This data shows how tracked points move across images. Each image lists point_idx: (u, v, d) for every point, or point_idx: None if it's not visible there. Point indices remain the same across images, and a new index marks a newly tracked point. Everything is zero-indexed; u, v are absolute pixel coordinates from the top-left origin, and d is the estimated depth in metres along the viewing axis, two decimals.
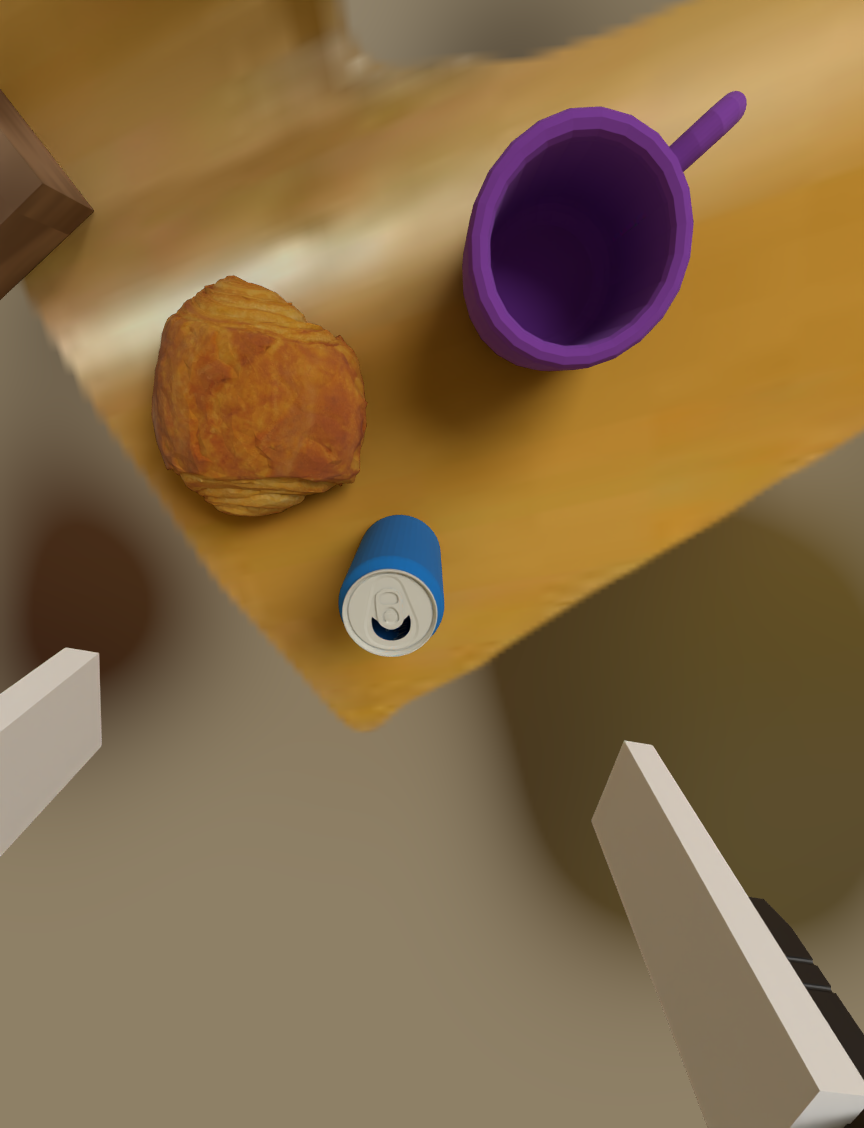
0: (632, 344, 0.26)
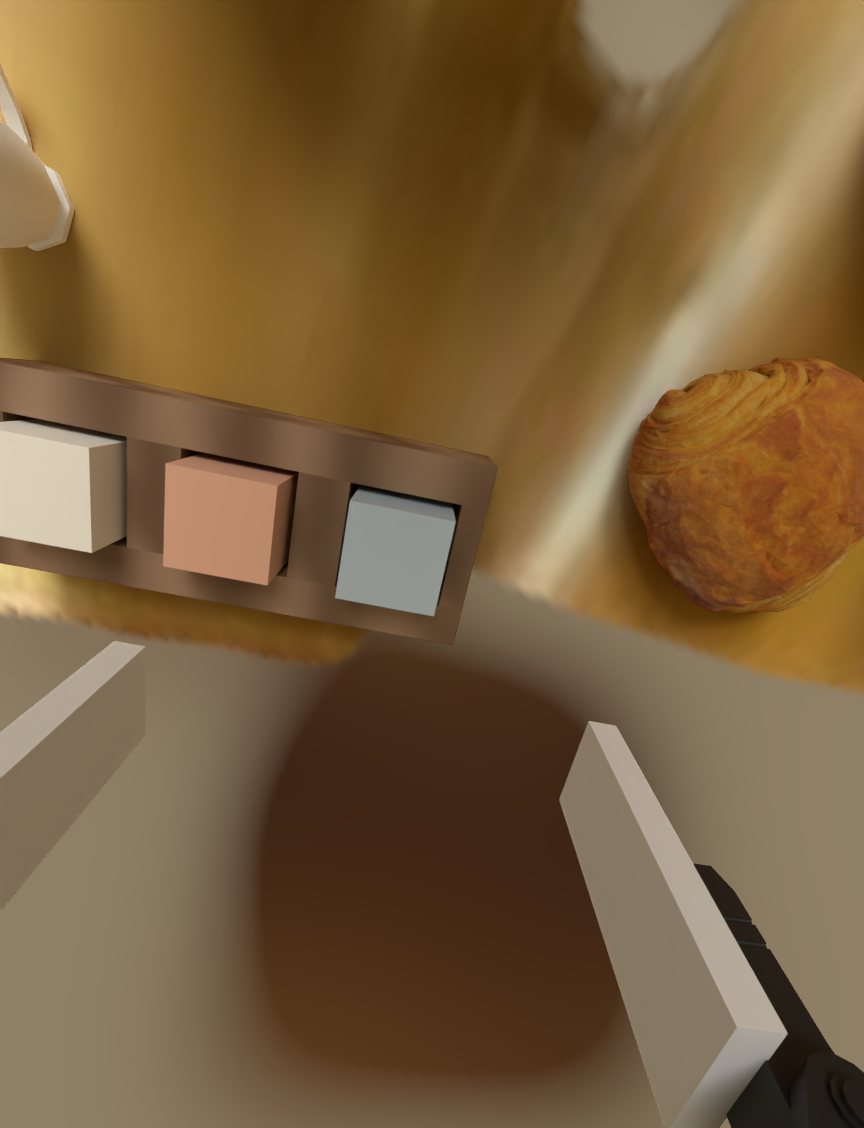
0: None
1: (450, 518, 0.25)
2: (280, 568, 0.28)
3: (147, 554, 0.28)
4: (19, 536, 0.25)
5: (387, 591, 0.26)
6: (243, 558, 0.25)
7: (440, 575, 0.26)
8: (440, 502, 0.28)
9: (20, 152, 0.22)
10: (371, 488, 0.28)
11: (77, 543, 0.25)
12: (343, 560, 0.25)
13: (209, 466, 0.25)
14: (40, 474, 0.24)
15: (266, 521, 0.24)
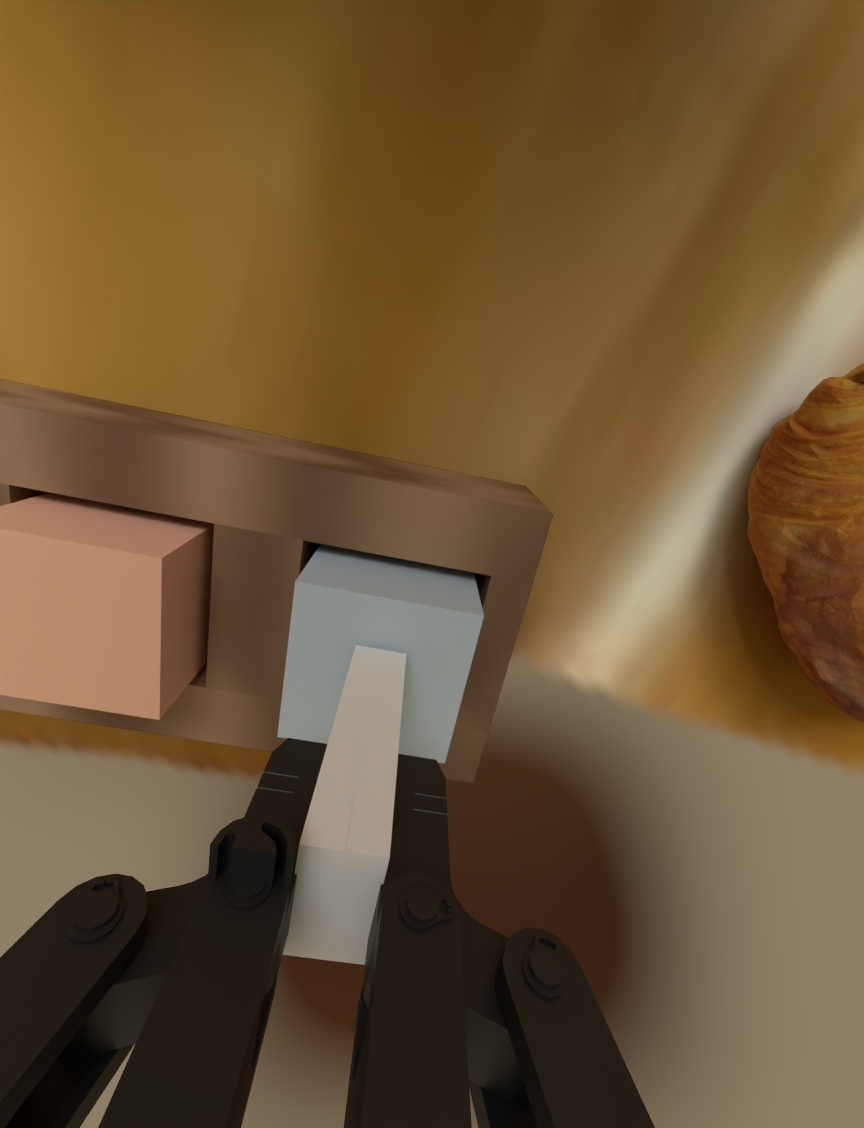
0: None
1: (473, 606, 0.14)
2: (194, 674, 0.17)
3: None
4: None
5: None
6: (113, 678, 0.14)
7: (456, 701, 0.15)
8: None
9: None
10: None
11: None
12: (288, 679, 0.15)
13: (48, 519, 0.14)
14: None
15: (147, 618, 0.14)
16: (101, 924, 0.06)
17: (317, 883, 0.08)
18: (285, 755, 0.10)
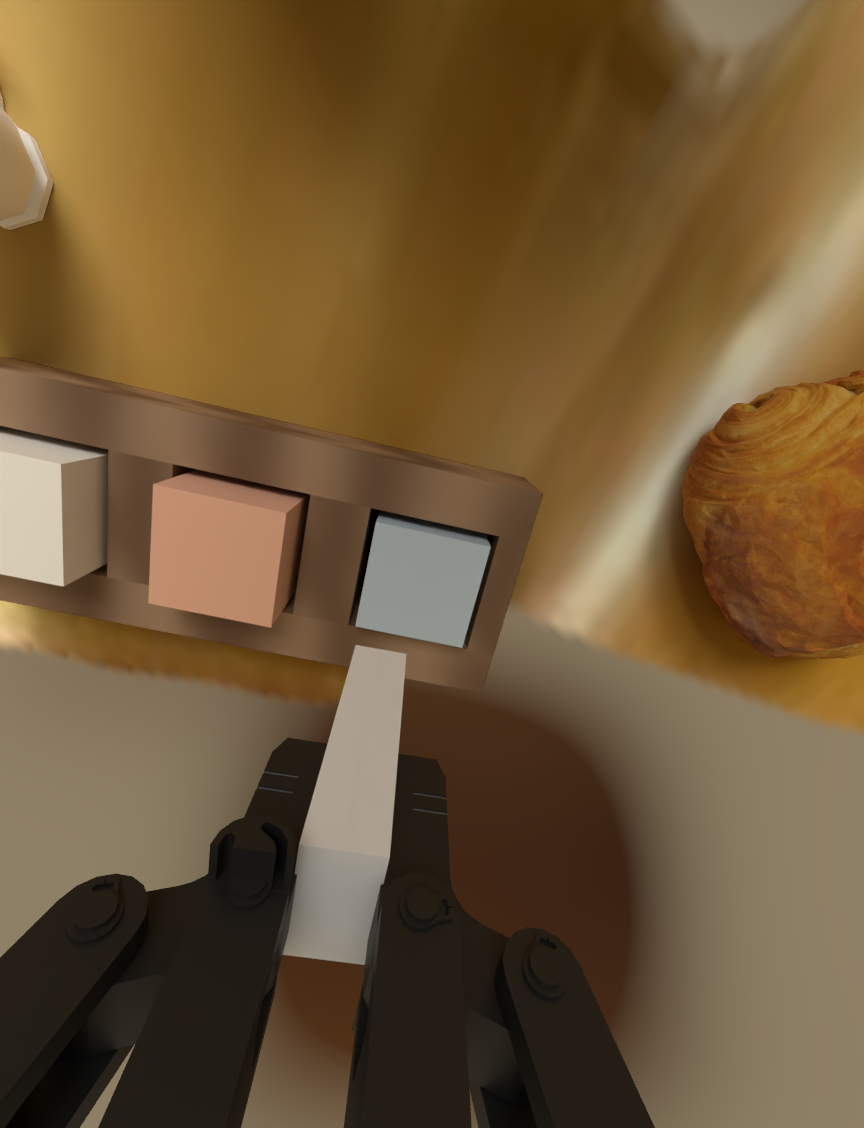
0: None
1: (484, 542, 0.23)
2: (285, 604, 0.24)
3: (130, 585, 0.24)
4: None
5: (412, 620, 0.24)
6: (243, 595, 0.21)
7: (471, 604, 0.23)
8: None
9: None
10: None
11: (46, 575, 0.21)
12: (366, 586, 0.23)
13: (205, 487, 0.21)
14: (3, 493, 0.20)
15: (272, 554, 0.21)
16: (101, 924, 0.06)
17: (316, 883, 0.08)
18: (285, 755, 0.10)
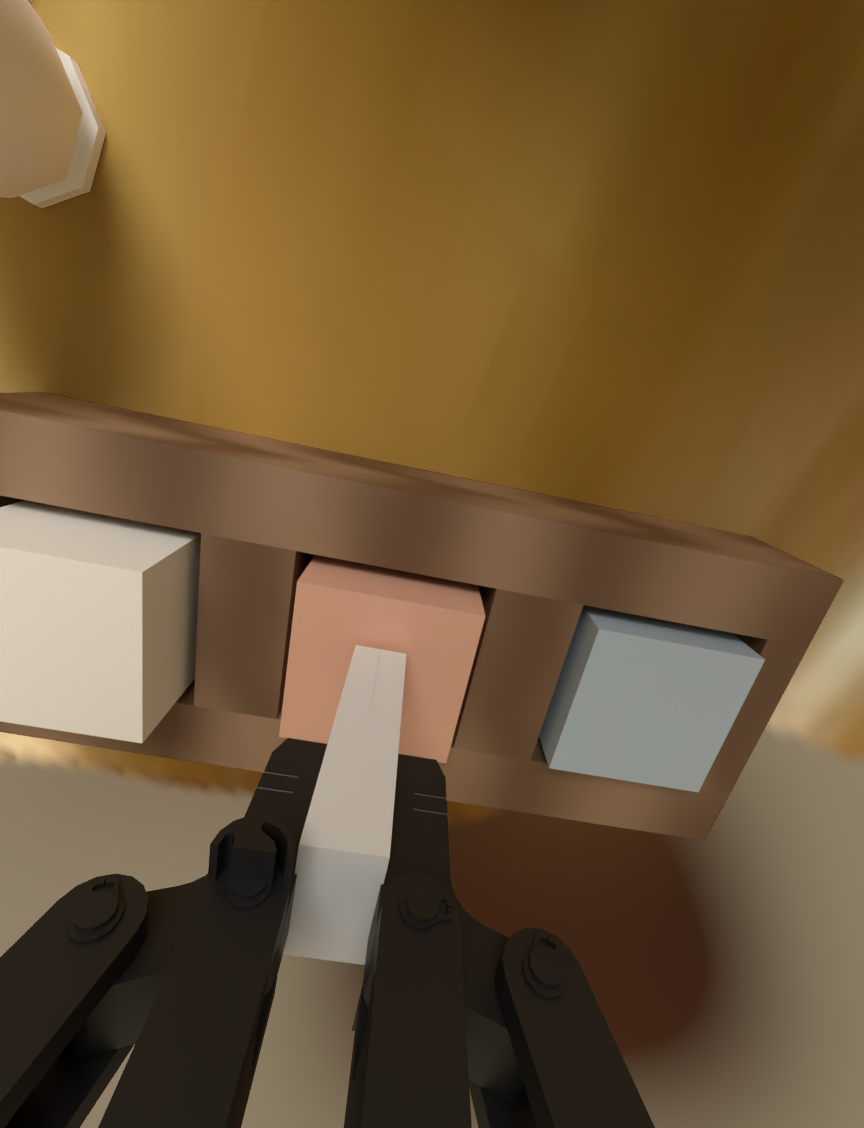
0: None
1: (746, 650, 0.16)
2: None
3: (226, 715, 0.17)
4: (13, 717, 0.14)
5: (633, 758, 0.16)
6: (412, 725, 0.15)
7: (721, 736, 0.16)
8: None
9: None
10: None
11: (117, 729, 0.14)
12: (572, 716, 0.16)
13: (359, 576, 0.15)
14: (51, 617, 0.13)
15: (458, 670, 0.15)
16: (101, 924, 0.06)
17: (317, 883, 0.08)
18: (286, 754, 0.10)
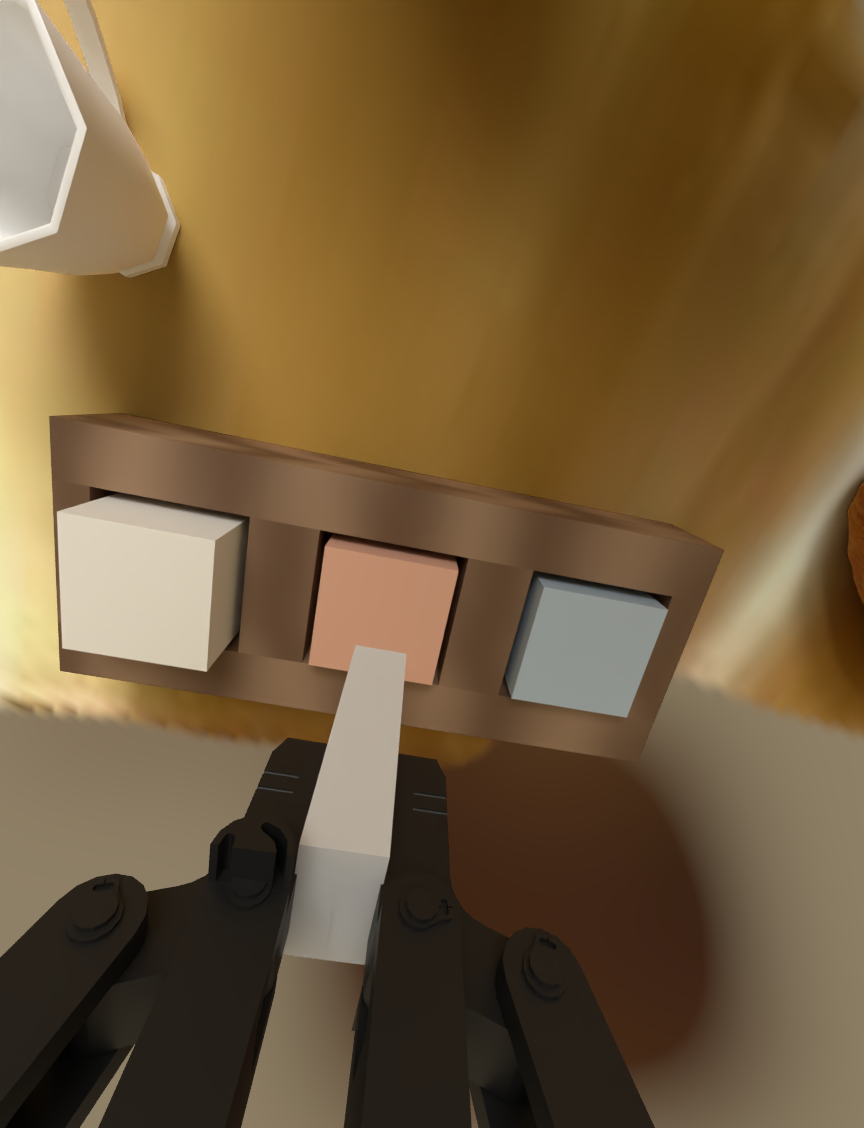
0: None
1: (656, 604, 0.21)
2: None
3: (263, 660, 0.21)
4: (112, 652, 0.19)
5: (575, 690, 0.21)
6: (406, 654, 0.21)
7: (640, 671, 0.21)
8: None
9: (133, 149, 0.16)
10: None
11: (188, 660, 0.19)
12: (527, 655, 0.21)
13: (368, 545, 0.20)
14: (147, 574, 0.18)
15: (440, 612, 0.20)
16: (101, 924, 0.06)
17: (317, 882, 0.08)
18: (286, 754, 0.10)
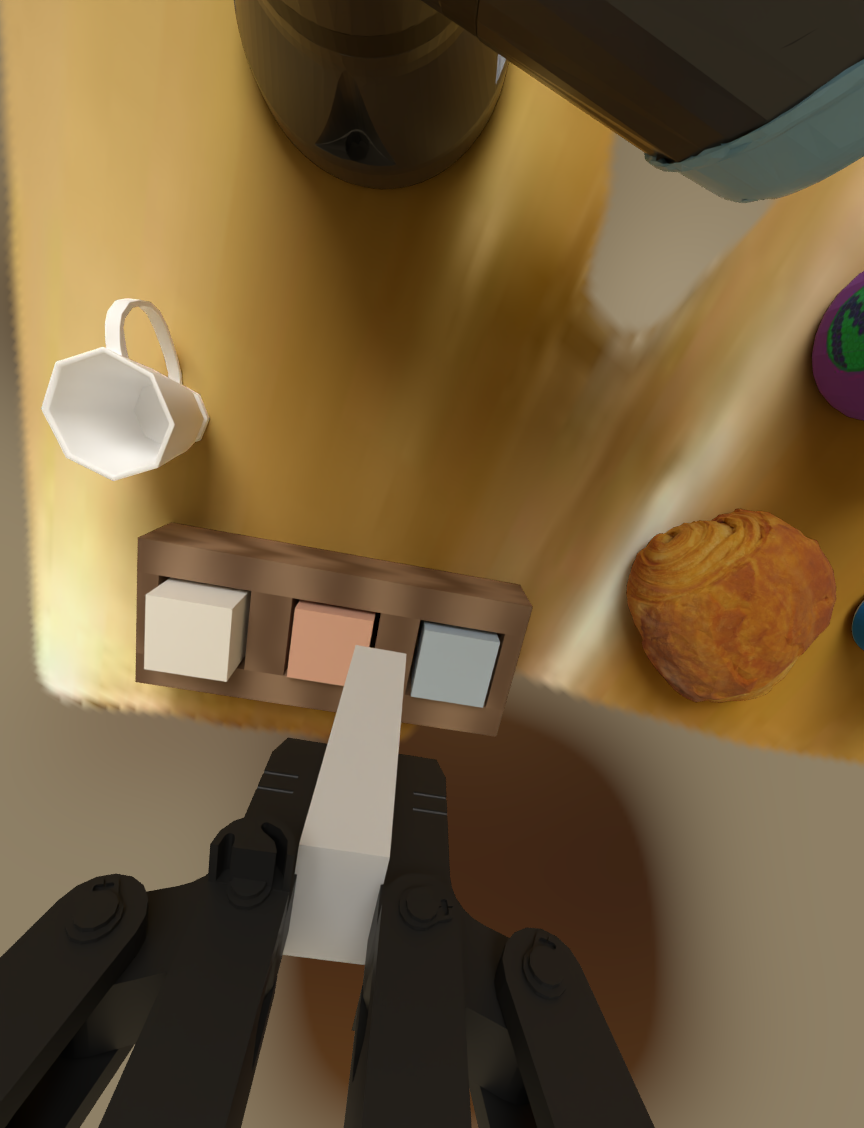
0: None
1: (495, 638, 0.35)
2: None
3: (259, 674, 0.35)
4: (172, 671, 0.32)
5: (449, 690, 0.35)
6: (345, 670, 0.35)
7: (488, 679, 0.35)
8: None
9: (188, 401, 0.30)
10: None
11: (216, 675, 0.33)
12: (418, 670, 0.35)
13: (321, 605, 0.34)
14: (194, 627, 0.31)
15: (364, 645, 0.34)
16: (101, 924, 0.06)
17: (317, 883, 0.08)
18: (285, 755, 0.10)
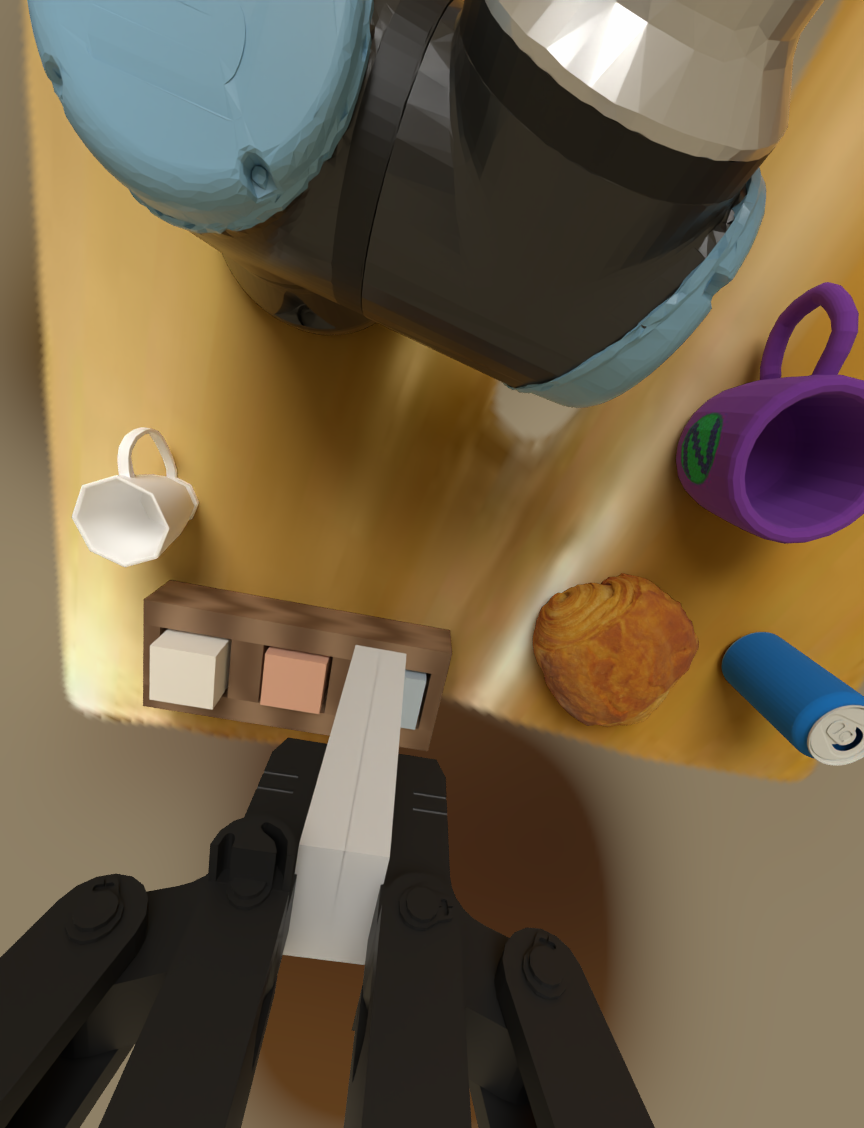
0: None
1: (423, 677, 0.44)
2: None
3: (239, 701, 0.45)
4: (171, 701, 0.42)
5: None
6: (305, 700, 0.44)
7: (418, 708, 0.45)
8: None
9: (181, 499, 0.39)
10: None
11: (204, 704, 0.42)
12: None
13: (287, 650, 0.44)
14: (187, 669, 0.41)
15: (319, 681, 0.44)
16: (101, 924, 0.06)
17: (317, 882, 0.08)
18: (286, 755, 0.10)
